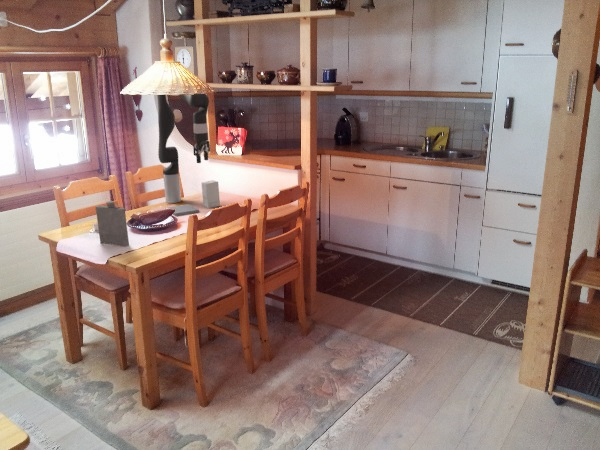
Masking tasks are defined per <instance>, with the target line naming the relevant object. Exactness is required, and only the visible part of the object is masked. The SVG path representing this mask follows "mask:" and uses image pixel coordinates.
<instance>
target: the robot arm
mask: <svg viewBox="0 0 600 450" xmlns="http://www.w3.org/2000/svg"><path fill="white" fill-rule="evenodd" d="M156 97H157V109H158V110H157V111H158V114H157V115H158V116H157V117H158V119H157V120H158V122H157V123H158V154H157V155H158V161H159V162H160V163H161V164H169V163H170V164H169V165H168V166H167V167H165V168H163V170H162V174H163V175H162V177H163V184H164V185H163V186H164V188H163V189H164V199H165V203H167V204H176V203H180V202H181V201H182V196H181V194H182V193H181V186H180V185H181V184H180V174H179V172H180V171H179V169H180V168H179V165H180V164H179V152H178V148H177V147H176V146H167V142H168V139H169V138H170V136H171V134H172V132H173V131H174V130H175V126H176V119H175V118H176V117H175V113H174V111H173V109H172V107H171V106H170V104H169V103H168V100H167V95H157V94H156ZM178 97H179V98H181V99H182V100H183V101H186V103H188V105H189V106H190V107H191V108H199V109H198V110H197V111H194V112H193V115H192V121H193V139H194V141H195V142H196V143H195V144H193V145H192V147H193V156H195V157H196V164H201V163H202V158H201V157H202V156H201V155H202V153H203V159H204V161H208V160H209V152H211V145H210V141H209V130H208V129H209V128H208V119H207V118H208V117H207V114H208V108H209V103H210V100H209V99H210V98H209V96H208V94H206V93H204V94H201V93H196V94H194V95H178Z"/></svg>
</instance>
